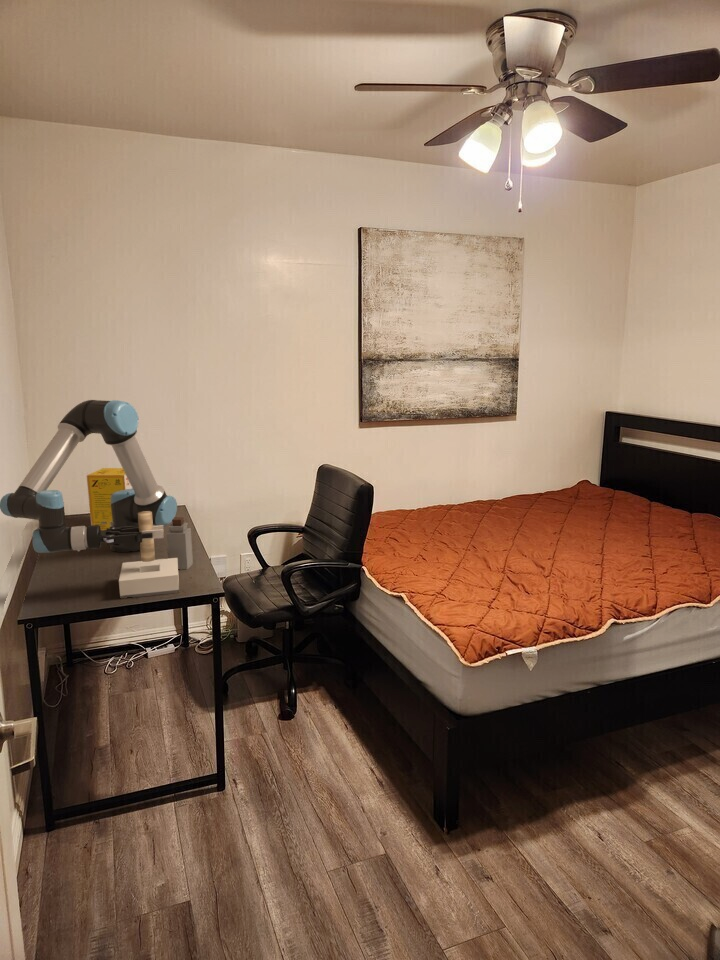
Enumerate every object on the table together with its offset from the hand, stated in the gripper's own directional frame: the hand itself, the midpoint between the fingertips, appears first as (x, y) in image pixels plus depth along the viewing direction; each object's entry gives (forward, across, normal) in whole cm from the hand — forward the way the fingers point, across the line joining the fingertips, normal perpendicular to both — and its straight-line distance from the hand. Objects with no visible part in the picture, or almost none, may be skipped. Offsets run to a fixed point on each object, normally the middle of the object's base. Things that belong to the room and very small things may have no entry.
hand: (163, 531), depth 210 cm
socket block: (-5, 0, -18) cm, 19 cm away
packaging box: (-21, -79, -18) cm, 84 cm away
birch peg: (-5, 0, -9) cm, 11 cm away
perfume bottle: (+5, -17, -19) cm, 26 cm away
